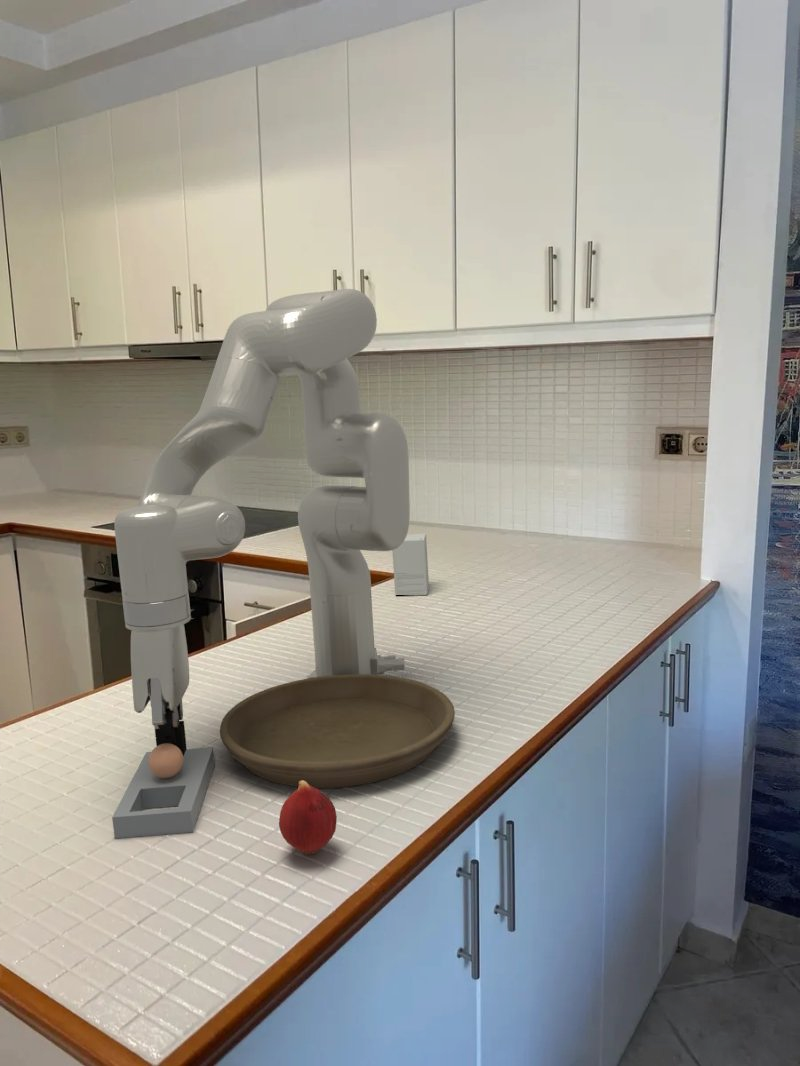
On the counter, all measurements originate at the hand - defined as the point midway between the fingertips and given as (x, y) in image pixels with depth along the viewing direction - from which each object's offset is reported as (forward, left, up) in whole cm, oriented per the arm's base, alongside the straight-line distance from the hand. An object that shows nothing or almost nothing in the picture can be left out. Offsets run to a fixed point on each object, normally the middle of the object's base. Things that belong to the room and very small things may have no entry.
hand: (172, 754), depth 102 cm
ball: (0, +4, +1) cm, 4 cm away
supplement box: (-36, -84, -4) cm, 91 cm away
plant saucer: (-20, -8, -4) cm, 22 cm away
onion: (-17, +18, -4) cm, 26 cm away
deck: (0, +4, -4) cm, 6 cm away
